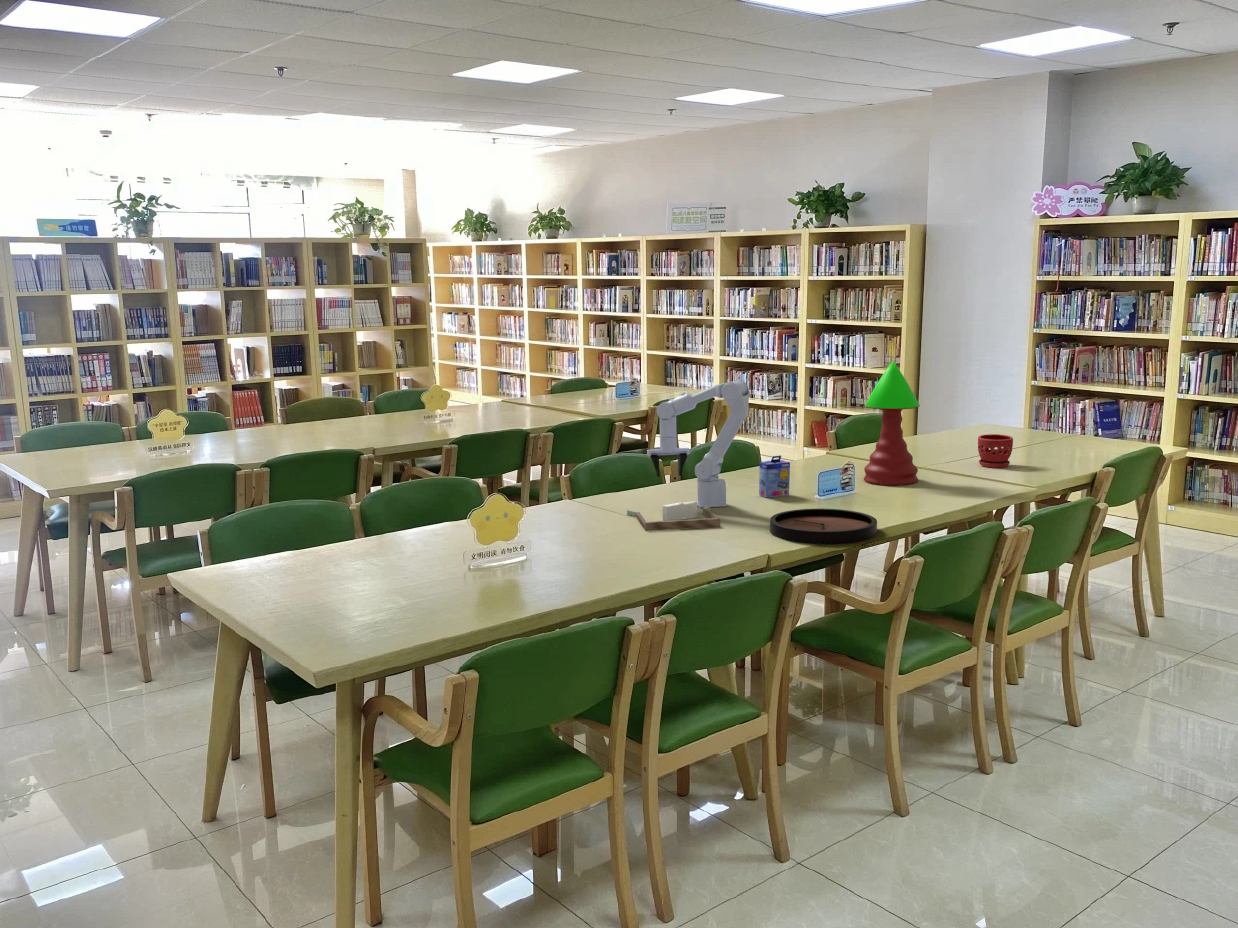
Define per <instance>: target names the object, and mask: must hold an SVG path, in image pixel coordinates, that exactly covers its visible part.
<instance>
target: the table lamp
mask: <svg viewBox="0 0 1238 928" xmlns="http://www.w3.org/2000/svg"><path fill="white" fill-rule="evenodd" d="M919 407H920V402H919V401H918V399H917V398H916V396H915V394H914V392H913V391H912V388H911V387H910V385H909V383H908V380H907V379H906V377H905V376H904V375H903V373H902V372H901V370H900V368H899V367H898V366H897V364H896V362H895V361H894V360H892V361H891V362H890V364H889V365H888V366H887V368H886V370H885V371H884V372H883V373H882V375H881V377H880V378H879V380H878V381H877V384H876V385H875V387H874V388H873V390H872V392H871V394H870V395H869V397H868V399H867V400H866V403H865V404H864V408H867V409H872V410H873V409H874V410H881V411H882V414H881V415H882V416H881V419H880V420H881V425H882V427H881V429H880V431H879V432H880V437H879V439H878V440H877V441H876V443H875V449H874V451H873V452H872V453H871V454H870V455H869V462H868V463H867V465H865V466H864V468H863V471H864V473H865V475H864V477H863V481H865V483H869V484H874V485H880V486H883V485H884V486H905V485H906V486H907V485H912V484H915V483H918V481H919V478H918V476H917V474H918V471H919V470H918V468H917V467H918V466H916V464H914V462H913V460H914V457H913V456H912V454H911V453H910V452H909V450H908V444H907V442H906V441H905V439H904V437H903V436H904V431H903V428H902V422H903V415H902V412H903V410H912V409H917V408H919Z"/></svg>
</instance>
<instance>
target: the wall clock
mask: <svg viewBox="0 0 1238 928" xmlns="http://www.w3.org/2000/svg"><path fill="white" fill-rule="evenodd" d="M769 533H770V534H771V535H772V536H773V537H775V538H778V539H779V540H780V539H781V540H784V541H787V542H792V543H799V544H805V545H822V546H823V545H824V546H826V545H830V546H831V545H849V544H856V543H857V544H858V543H861V542H865V541H869V540H872V539H874V538H875V537H876V536H877V534H878V520H877V518H875V517H874V516H872V515H869V514H868V513H864V512H860V511H854V510H847V509H839V508H801V509H792V510H791V509H790V510H786V511H780V512H779V513H775V514H773V515H772V516H770V519H769Z"/></svg>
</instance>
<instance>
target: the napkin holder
mask: <svg viewBox="0 0 1238 928" xmlns="http://www.w3.org/2000/svg"><path fill="white" fill-rule="evenodd" d="M697 502H698V501H693V500H691V501H690V500H689V501H686V502H683V501H679V502H675V503H670V504H664V505H662V507H661V508H662V521H674V520H690V519H693V518H697V517H698V506H697Z"/></svg>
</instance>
